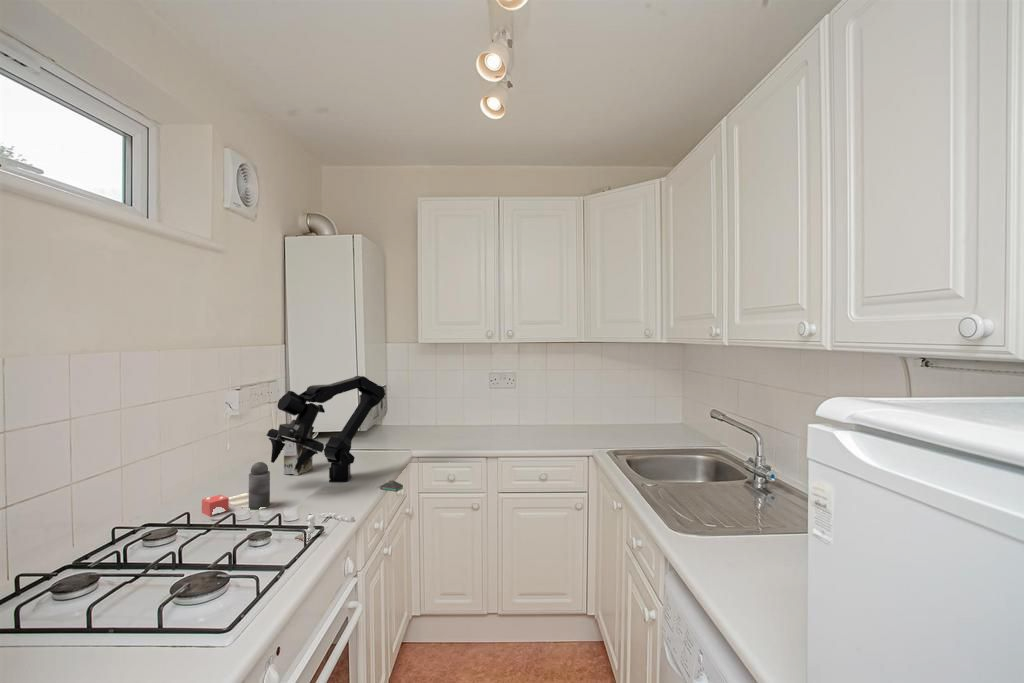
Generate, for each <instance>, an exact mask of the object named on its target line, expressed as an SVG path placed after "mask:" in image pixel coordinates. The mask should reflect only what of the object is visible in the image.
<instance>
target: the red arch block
mask: <svg viewBox="0 0 1024 683" xmlns="http://www.w3.org/2000/svg"><path fill="white" fill-rule="evenodd" d="M229 504H230V503H229V497H228V496H225V495H222V494H217V495H214V496H210V497H205V498H202V499H201V513H202V514H204V515H206V516H207V517H213V516H212V512H213V509H215V508H216V507H222V508H224V509H225V510H226V511H227V512H229V511H230V510H229V506H230V505H229Z"/></svg>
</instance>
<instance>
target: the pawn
mask: <svg viewBox="0 0 1024 683" xmlns="http://www.w3.org/2000/svg"><path fill="white" fill-rule="evenodd" d="M248 494H249V508H250V509H251V510H258V511H260V510H259V508H260V507H268V506H270V502H271V472H270V471H269V467H268V464H266V463H265V462H263V461H258V462H256V463H254V464H253V465H252V466H251V468H250V472H249V473H248ZM268 508H269V507H268Z"/></svg>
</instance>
